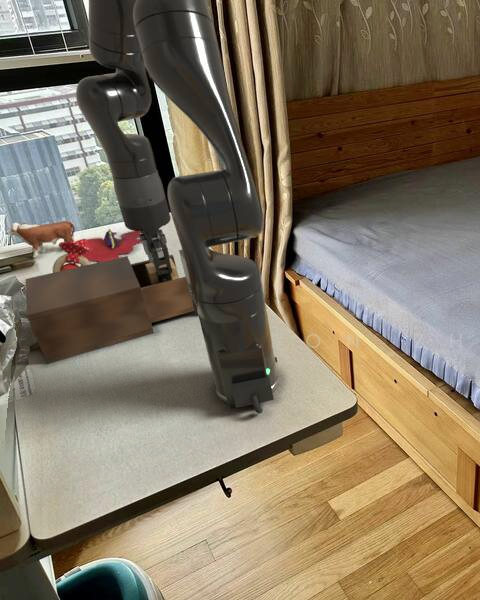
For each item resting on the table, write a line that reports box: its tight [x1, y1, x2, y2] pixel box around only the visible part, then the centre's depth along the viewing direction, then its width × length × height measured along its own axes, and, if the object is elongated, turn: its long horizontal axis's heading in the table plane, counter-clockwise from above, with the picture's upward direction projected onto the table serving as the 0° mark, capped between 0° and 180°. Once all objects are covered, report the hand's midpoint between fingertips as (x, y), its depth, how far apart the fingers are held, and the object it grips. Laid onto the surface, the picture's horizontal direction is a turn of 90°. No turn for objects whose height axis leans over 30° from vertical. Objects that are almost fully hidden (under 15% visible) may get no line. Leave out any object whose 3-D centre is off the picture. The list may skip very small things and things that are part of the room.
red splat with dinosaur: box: [82, 228, 141, 263], centre depth 129 cm, size 18×15×5 cm
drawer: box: [131, 249, 195, 324], centre depth 103 cm, size 22×14×8 cm, turn 122°
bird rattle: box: [52, 238, 92, 273], centre depth 110 cm, size 6×11×9 cm
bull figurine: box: [8, 220, 76, 259], centre depth 126 cm, size 4×13×8 cm, turn 107°
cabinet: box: [25, 255, 155, 364], centre depth 97 cm, size 17×15×9 cm
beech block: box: [145, 258, 180, 285], centre depth 101 cm, size 5×5×5 cm
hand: (165, 284), depth 102 cm, fingers closed on beech block, 4 cm apart
